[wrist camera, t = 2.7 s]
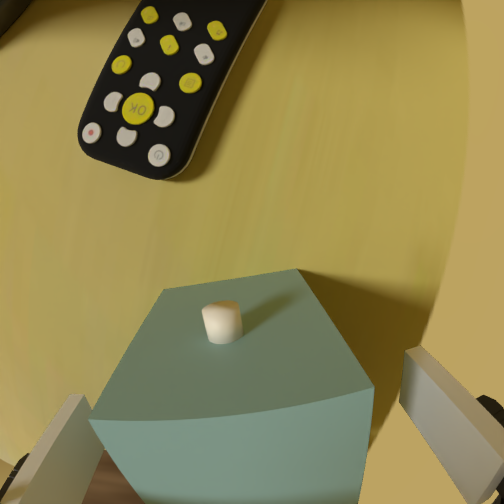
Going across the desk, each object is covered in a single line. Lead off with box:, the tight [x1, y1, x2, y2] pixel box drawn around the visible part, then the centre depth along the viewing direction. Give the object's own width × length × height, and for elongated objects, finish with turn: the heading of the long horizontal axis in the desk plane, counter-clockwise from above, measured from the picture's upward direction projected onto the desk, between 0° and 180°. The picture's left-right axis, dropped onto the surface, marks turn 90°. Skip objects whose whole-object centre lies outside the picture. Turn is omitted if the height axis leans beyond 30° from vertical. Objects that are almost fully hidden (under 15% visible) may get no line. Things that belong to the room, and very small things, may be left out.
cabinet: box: [88, 269, 375, 504], centre depth 12 cm, size 11×7×10 cm, turn 9°
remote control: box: [78, 0, 267, 180], centre depth 13 cm, size 6×13×2 cm, turn 158°
